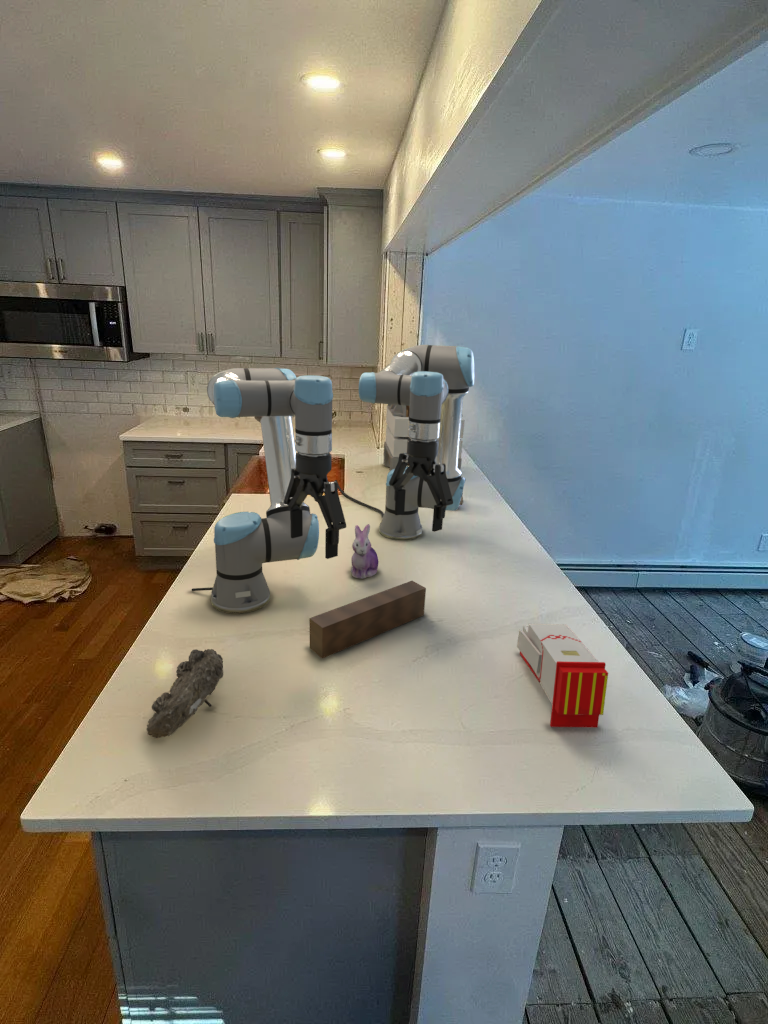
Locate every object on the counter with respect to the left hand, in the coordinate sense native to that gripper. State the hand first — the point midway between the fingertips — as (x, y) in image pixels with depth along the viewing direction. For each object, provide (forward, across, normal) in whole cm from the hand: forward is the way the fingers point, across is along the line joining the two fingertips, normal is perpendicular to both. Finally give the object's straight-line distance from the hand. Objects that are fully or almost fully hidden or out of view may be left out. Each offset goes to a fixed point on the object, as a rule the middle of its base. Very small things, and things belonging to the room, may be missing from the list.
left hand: (313, 546), depth 125 cm
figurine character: (+25, -50, +102) cm, 116 cm away
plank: (+25, +4, +14) cm, 29 cm away
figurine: (+25, -22, +33) cm, 47 cm away
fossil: (+25, +4, -31) cm, 40 cm away
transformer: (+25, -92, +124) cm, 156 cm away
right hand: (0, +2, +30) cm, 30 cm away
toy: (+25, +44, +32) cm, 60 cm away
